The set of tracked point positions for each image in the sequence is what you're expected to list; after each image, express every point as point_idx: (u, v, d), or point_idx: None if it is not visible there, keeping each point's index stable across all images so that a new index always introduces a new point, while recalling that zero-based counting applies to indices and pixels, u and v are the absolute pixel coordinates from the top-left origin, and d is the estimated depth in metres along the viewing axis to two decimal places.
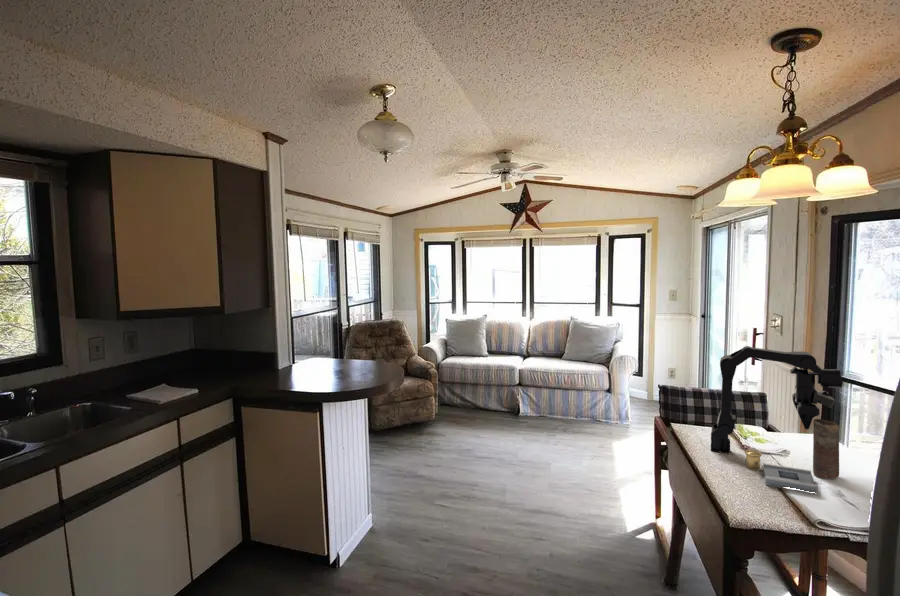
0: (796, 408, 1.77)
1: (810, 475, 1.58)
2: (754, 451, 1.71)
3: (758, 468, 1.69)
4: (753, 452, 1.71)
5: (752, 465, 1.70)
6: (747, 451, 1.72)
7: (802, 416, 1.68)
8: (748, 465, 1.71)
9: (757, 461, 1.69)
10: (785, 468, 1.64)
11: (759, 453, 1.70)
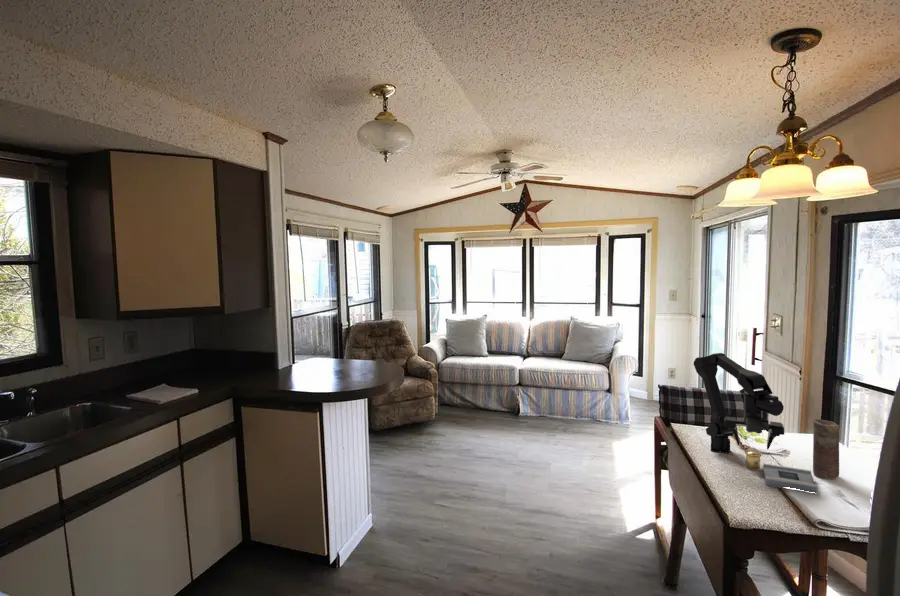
0: (768, 434, 1.70)
1: (810, 475, 1.58)
2: (754, 451, 1.71)
3: (758, 468, 1.69)
4: (753, 452, 1.71)
5: (752, 465, 1.70)
6: (747, 451, 1.72)
7: None
8: (748, 465, 1.71)
9: (757, 461, 1.69)
10: (785, 468, 1.64)
11: (759, 453, 1.70)
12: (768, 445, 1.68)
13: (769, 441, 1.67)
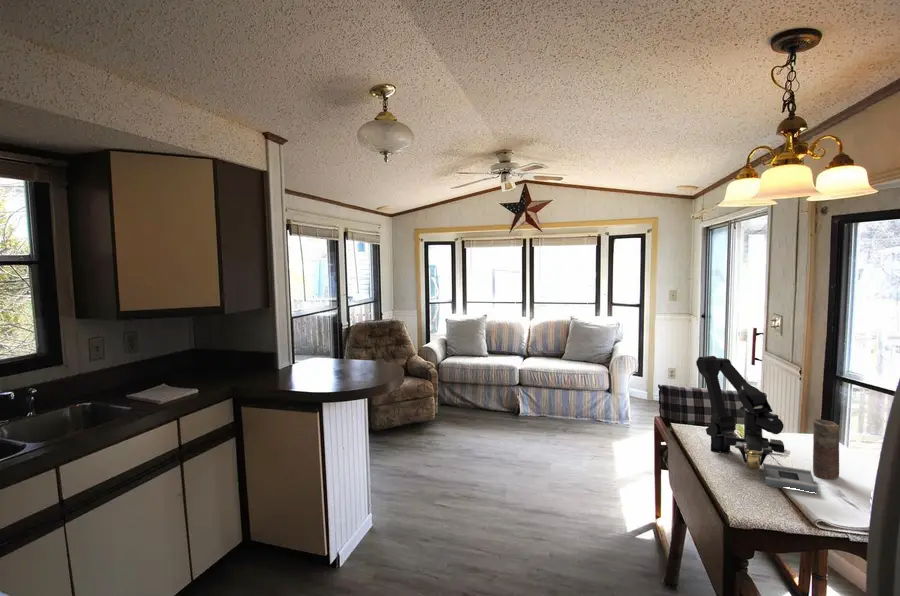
0: (761, 451, 1.71)
1: (810, 475, 1.58)
2: (754, 451, 1.71)
3: (758, 468, 1.69)
4: (753, 452, 1.71)
5: (752, 465, 1.70)
6: (747, 451, 1.72)
7: None
8: (748, 465, 1.71)
9: (757, 461, 1.69)
10: (785, 468, 1.64)
11: (759, 453, 1.70)
12: (761, 462, 1.69)
13: (762, 458, 1.69)
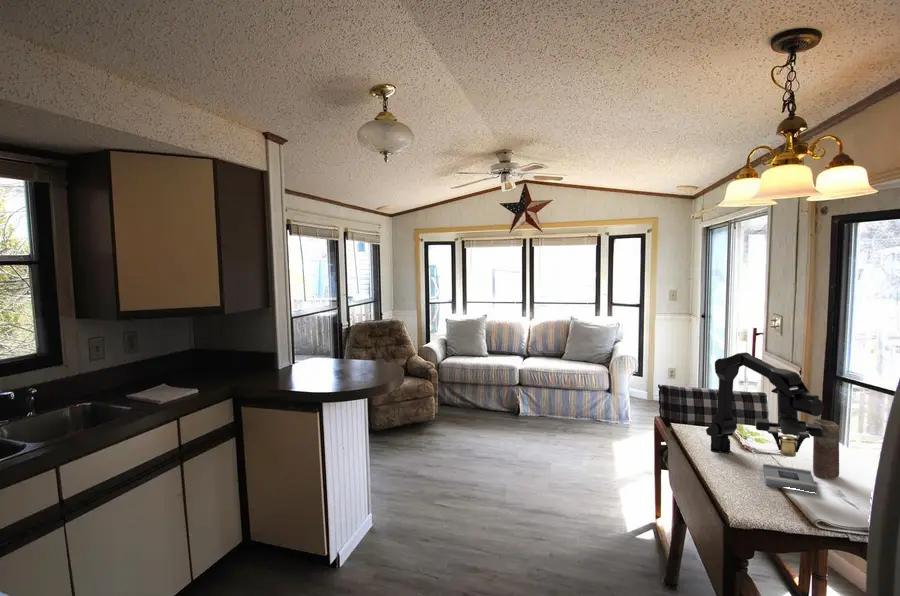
0: None
1: (810, 475, 1.58)
2: (789, 437, 1.59)
3: (794, 455, 1.57)
4: (788, 437, 1.58)
5: (787, 451, 1.57)
6: (781, 437, 1.59)
7: None
8: (783, 452, 1.58)
9: (792, 447, 1.56)
10: (785, 468, 1.64)
11: (794, 438, 1.57)
12: (797, 448, 1.57)
13: (798, 443, 1.56)
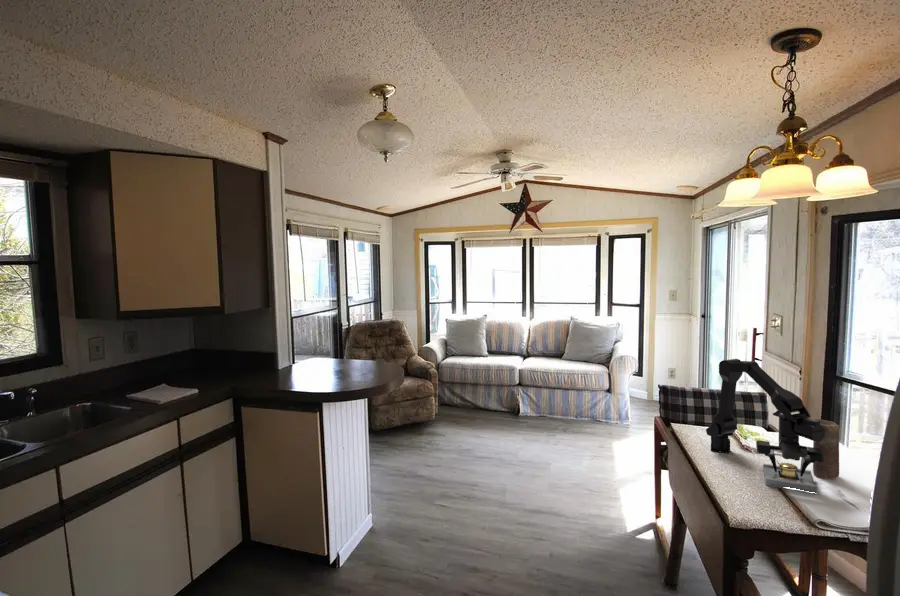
0: (801, 460, 1.59)
1: (810, 475, 1.58)
2: (789, 465, 1.59)
3: None
4: (788, 466, 1.59)
5: None
6: (782, 464, 1.60)
7: None
8: None
9: (793, 476, 1.57)
10: None
11: (795, 467, 1.58)
12: (802, 472, 1.57)
13: (803, 468, 1.56)
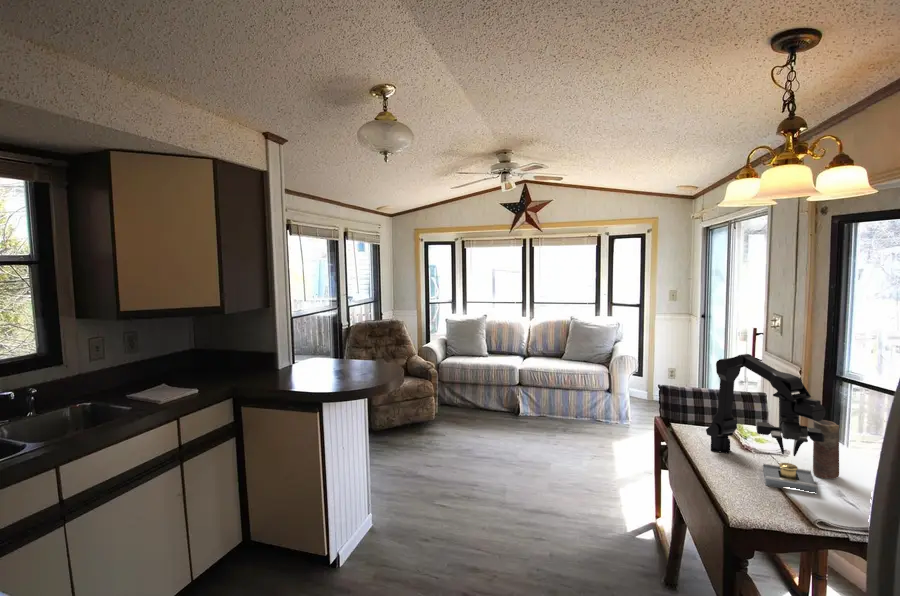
0: (794, 440, 1.59)
1: (810, 475, 1.58)
2: (789, 465, 1.59)
3: None
4: (788, 466, 1.59)
5: None
6: (782, 464, 1.60)
7: None
8: None
9: (793, 476, 1.57)
10: None
11: (795, 467, 1.58)
12: (795, 451, 1.57)
13: (796, 447, 1.56)
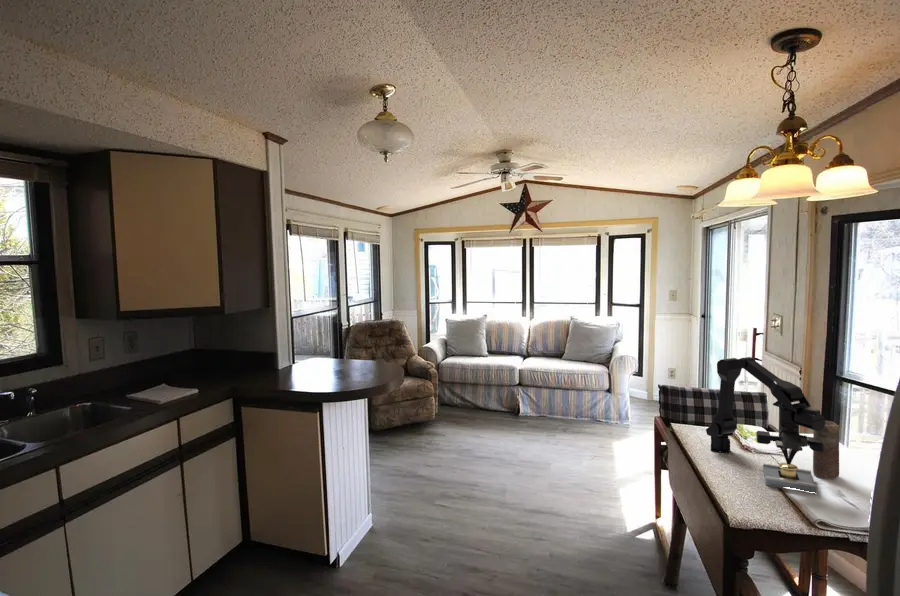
0: (789, 449, 1.60)
1: (810, 475, 1.58)
2: (789, 465, 1.59)
3: None
4: (788, 466, 1.59)
5: None
6: (782, 464, 1.60)
7: None
8: None
9: (793, 476, 1.57)
10: None
11: (795, 467, 1.58)
12: (790, 460, 1.58)
13: (791, 456, 1.57)
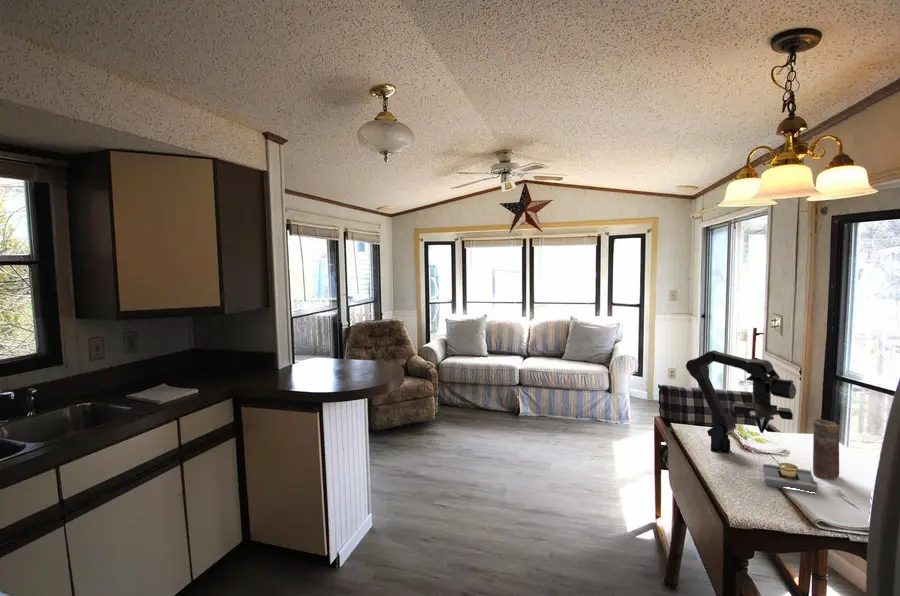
0: None
1: (810, 475, 1.58)
2: (789, 465, 1.59)
3: None
4: (788, 466, 1.59)
5: None
6: (782, 464, 1.60)
7: None
8: None
9: (793, 476, 1.57)
10: None
11: (795, 467, 1.58)
12: (763, 429, 1.73)
13: (763, 425, 1.73)
